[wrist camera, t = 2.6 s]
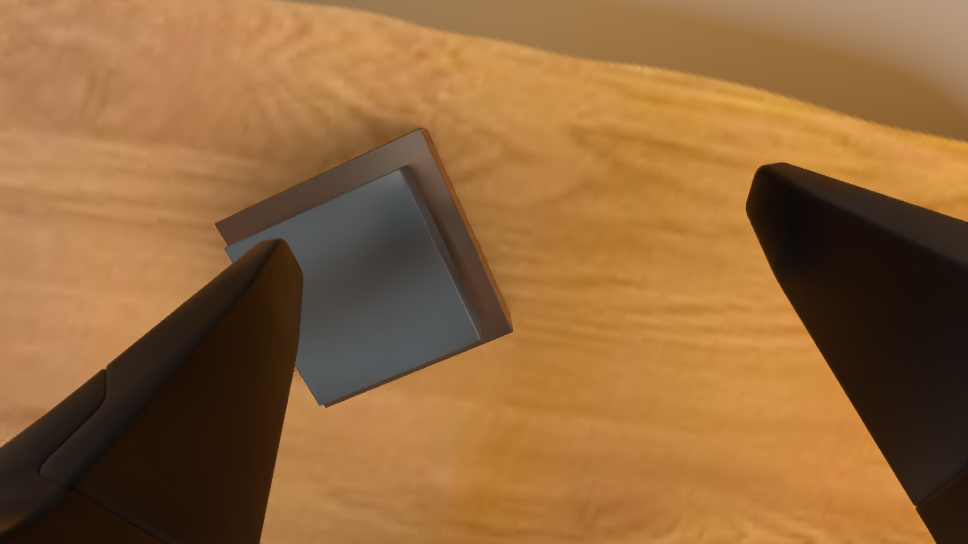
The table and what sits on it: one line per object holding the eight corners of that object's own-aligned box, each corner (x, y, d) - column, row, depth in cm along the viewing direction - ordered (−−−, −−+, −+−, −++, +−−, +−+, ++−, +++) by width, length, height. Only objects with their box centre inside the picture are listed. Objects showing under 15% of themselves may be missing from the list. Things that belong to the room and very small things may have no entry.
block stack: (510, 314, 27) (517, 353, 22) (338, 385, 28) (309, 436, 23) (426, 128, 24) (413, 126, 19) (239, 215, 25) (182, 233, 20)
